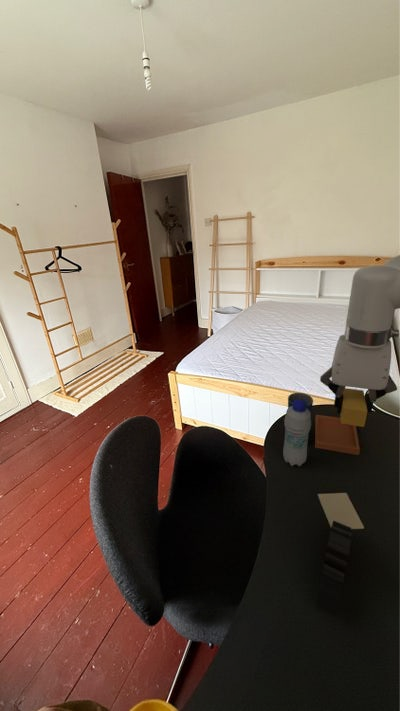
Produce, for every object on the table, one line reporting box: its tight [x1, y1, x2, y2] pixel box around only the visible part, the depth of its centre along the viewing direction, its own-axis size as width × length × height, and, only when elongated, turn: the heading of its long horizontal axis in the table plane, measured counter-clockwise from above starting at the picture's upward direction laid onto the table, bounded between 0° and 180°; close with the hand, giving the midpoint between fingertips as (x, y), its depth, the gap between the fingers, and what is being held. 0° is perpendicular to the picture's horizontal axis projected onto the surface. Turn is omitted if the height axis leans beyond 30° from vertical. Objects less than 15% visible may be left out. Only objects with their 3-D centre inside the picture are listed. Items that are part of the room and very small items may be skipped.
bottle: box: [282, 400, 312, 467], centre depth 79 cm, size 7×7×20 cm
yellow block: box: [339, 387, 368, 428], centre depth 64 cm, size 8×4×4 cm, turn 159°
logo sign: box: [314, 520, 353, 619], centre depth 56 cm, size 18×4×11 cm, turn 149°
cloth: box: [317, 492, 365, 530], centre depth 69 cm, size 7×9×1 cm
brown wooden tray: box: [314, 414, 361, 456], centre depth 91 cm, size 14×12×2 cm
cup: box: [287, 392, 314, 414], centre depth 87 cm, size 7×7×15 cm
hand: (351, 410), depth 65 cm, fingers closed on yellow block, 4 cm apart
